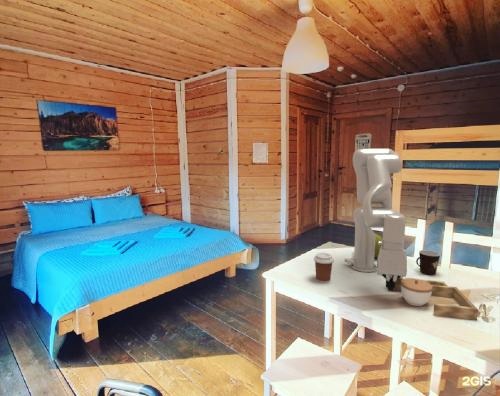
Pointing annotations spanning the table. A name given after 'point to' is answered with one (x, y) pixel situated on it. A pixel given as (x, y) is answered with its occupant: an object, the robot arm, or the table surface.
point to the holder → (462, 311)
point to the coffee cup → (323, 267)
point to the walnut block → (397, 284)
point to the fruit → (377, 247)
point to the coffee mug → (428, 261)
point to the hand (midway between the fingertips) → (389, 289)
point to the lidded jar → (416, 291)
